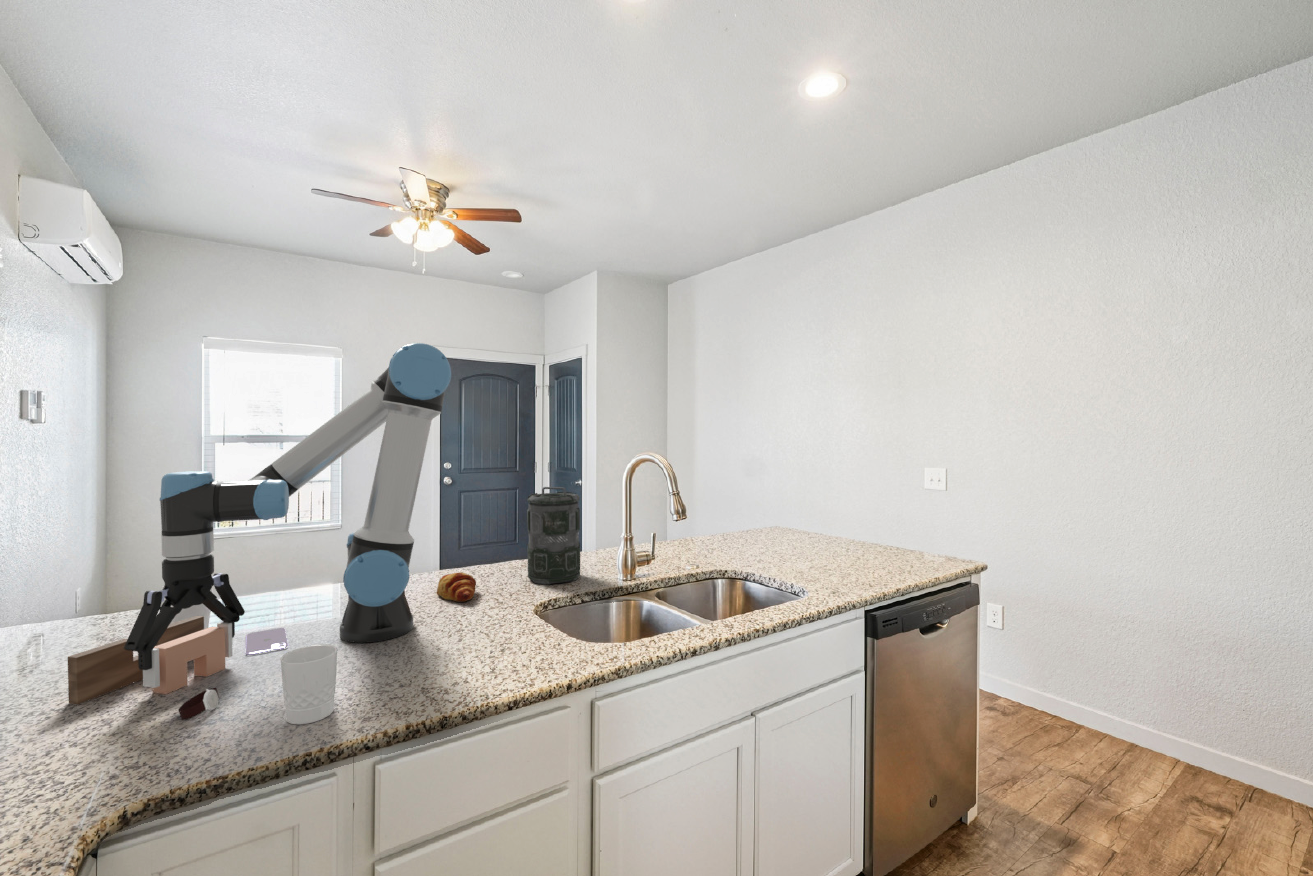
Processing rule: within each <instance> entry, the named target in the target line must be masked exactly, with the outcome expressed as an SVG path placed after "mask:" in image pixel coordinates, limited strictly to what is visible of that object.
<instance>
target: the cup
mask: <svg viewBox="0 0 1313 876" xmlns="http://www.w3.org/2000/svg"><path fill="white" fill-rule="evenodd" d="M164 586H165V585H163V586H161V590H163V589H164ZM210 591H211V592H212V593H213V594H214V589H213V587H212V588H211V590H210ZM165 600H166V599H165V598H164V601H165ZM164 601H163V602H161V606H162V604H163V603H164ZM171 607H173V606H172V605H171ZM211 613H212V611H210V610H209V609H208V608H207V607H206V606H205V605H204V604H200V605H193V606H191V607H190V608H187V609H182V610H181V612H180V613H179V614H177V615H176V616H175V617H174V619H173V620H172V622H171V623H170V624H172V623H175V622H178V621H181V620H184V619H187V618H190V617H193V616H204V629H206V628H209V625H210V618H211V617H210V616H211Z"/></svg>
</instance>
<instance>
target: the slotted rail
mask: <svg viewBox="0 0 1313 876" xmlns="http://www.w3.org/2000/svg"><path fill="white" fill-rule="evenodd" d="M201 630H204V616H193V617H190V618H187V619H184V620H181V621H178V622H175V623H172V624H170V625H169V626H168V628H167V629H166V631H165V632H164V634H163V635H162V637H161V638H160V640H159V641H158V643H157V644H156V646H158V645H160V644H163V643H166V642H169V641H172V640H175V639H178V638H181V637H183V636H186V635H189V634H192V633H195V632H198V631H201ZM127 639H128V638H123V639H122V638H121V639H120V640H116V641H112V642H108V643H106V644H104V645H100V646H97V647H94V648H91V649H87V650H84V651H81V652H78V653H75V654H72V655H69V656H67V682H68V683H67V684H68V685H67V688H68V690H67V691H68V704H69V705H75V706H76V705H77V706H79V705H81V704H84V703H86V702H89V701H92V700H94V699H96V698H99V697H102V696H104V695H106V694H109V693H112V692H114V691H117V690H119V689H122V688H124V687H127V686H129V685H132V684H134V683H133V682H135V683H137V682H139V681H143V670H140V669H139V667H138V662H139V661H138V655H136V656H134V651H129V650H125V649H124V646H125V644H126V642H127ZM111 691H112V692H111ZM88 700H89V701H88Z"/></svg>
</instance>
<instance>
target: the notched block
mask: <svg viewBox="0 0 1313 876" xmlns="http://www.w3.org/2000/svg"><path fill="white" fill-rule="evenodd" d="M154 648H156V649H159V669H160V686H159V687H156V688H153V687H152V692H153V693H156V694H164V695H168V694H170V693H172V691H173V692H175V691H177V690H179V689H181V688H184V687H186V686H188V683H189V682H188V662H191V661H193V675H194V676H195V677H196V676H198V677H206V678H207V677H209V676H212V675H214V674H217V673H218V672H222V671H224V670H226V657H225V628H222V627H217V626H210V627H209V626H208V628H206V629H204V630H201V631H198V632H195V633H192V634H189V635H186V636H183V637H181V638H178V639H175V640H172V641H169V642H166V643H163V644H160V645H158V646H155V647H154Z"/></svg>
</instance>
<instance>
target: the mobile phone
mask: <svg viewBox="0 0 1313 876" xmlns="http://www.w3.org/2000/svg"><path fill="white" fill-rule="evenodd" d="M284 628H285V627H278V628H272V629H266V630H259V631H253V632H250V633H247V634H246V635H245V648H246V653H245V652H244V655H245V654H246V655H253V656H256V655H255V654H259V653H263V652H268V651H271V650H280V649H284V648H286V647H287V646H289V642H288V643H287V640H288V637H287V638H286V635H287V630H286V631H285V629H286V628H285V629H284ZM285 632H286V633H285ZM280 651H281V650H280ZM246 655H245V656H246ZM259 655H260V654H259Z"/></svg>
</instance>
